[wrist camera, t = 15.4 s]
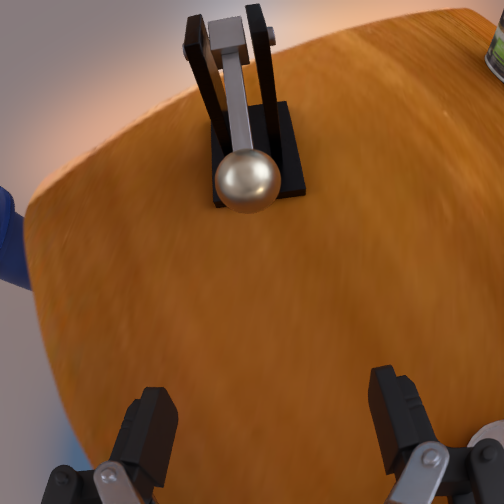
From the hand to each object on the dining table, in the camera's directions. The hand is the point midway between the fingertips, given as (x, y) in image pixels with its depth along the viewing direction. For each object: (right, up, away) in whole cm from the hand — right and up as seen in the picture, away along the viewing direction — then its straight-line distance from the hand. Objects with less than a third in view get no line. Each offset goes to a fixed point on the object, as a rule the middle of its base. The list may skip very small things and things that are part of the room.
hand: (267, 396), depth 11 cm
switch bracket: (0, +15, +18) cm, 24 cm away
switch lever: (-1, +14, +8) cm, 16 cm away
